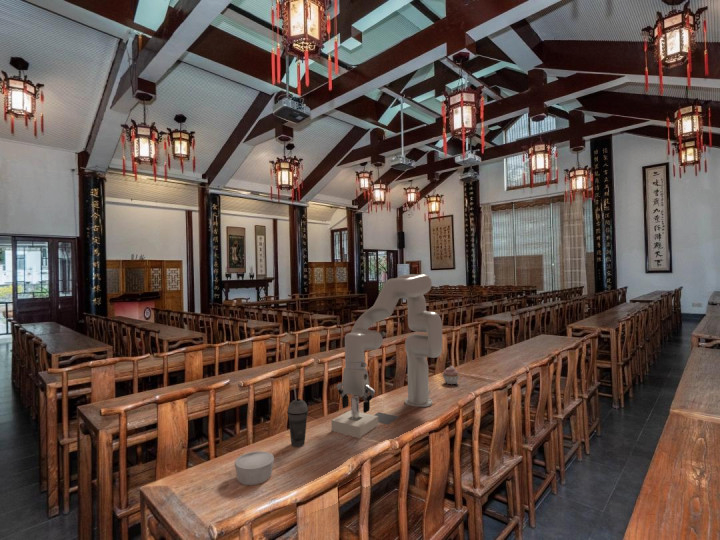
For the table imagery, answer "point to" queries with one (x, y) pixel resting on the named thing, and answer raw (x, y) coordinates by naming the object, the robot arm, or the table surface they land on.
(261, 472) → the ramekin
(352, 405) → the peg
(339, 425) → the hole block
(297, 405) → the beverage cup
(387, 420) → the mat
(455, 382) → the cupcake
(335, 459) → the table surface
